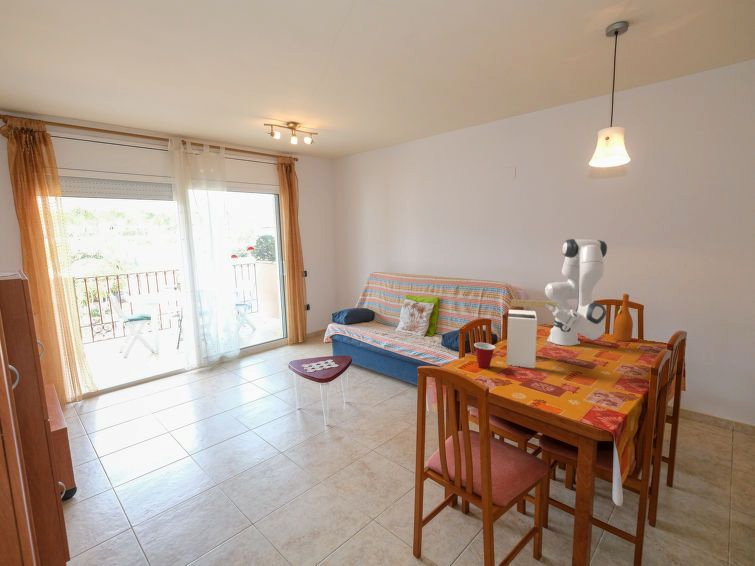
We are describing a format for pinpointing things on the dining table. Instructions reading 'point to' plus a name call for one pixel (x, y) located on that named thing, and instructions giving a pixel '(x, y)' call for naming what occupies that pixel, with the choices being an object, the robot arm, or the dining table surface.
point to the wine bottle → (623, 322)
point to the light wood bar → (532, 303)
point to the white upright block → (521, 338)
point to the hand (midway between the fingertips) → (545, 303)
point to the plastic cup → (484, 354)
